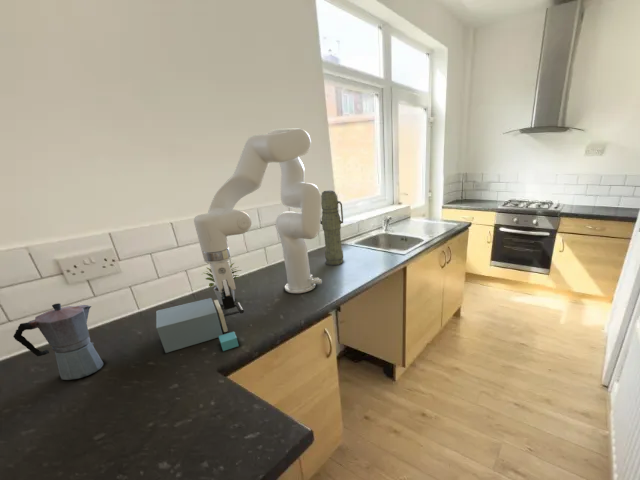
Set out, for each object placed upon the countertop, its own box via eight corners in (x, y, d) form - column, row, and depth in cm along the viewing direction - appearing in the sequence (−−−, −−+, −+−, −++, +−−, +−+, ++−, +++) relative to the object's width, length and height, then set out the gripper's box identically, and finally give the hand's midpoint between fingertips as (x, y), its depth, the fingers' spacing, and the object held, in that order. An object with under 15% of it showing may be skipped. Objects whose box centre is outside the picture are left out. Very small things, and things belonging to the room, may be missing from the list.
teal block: (236, 339, 99) (233, 331, 98) (238, 346, 96) (236, 337, 94) (220, 344, 97) (218, 335, 95) (223, 351, 93) (220, 342, 92)
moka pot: (123, 358, 91) (95, 295, 83) (59, 394, 78) (18, 325, 70) (101, 352, 94) (72, 291, 86) (35, 386, 81) (-6, 318, 73)
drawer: (240, 311, 114) (236, 294, 111) (248, 325, 105) (243, 307, 102) (173, 329, 103) (167, 311, 101) (175, 346, 95) (168, 326, 92)
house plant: (230, 314, 114) (219, 271, 107) (197, 310, 117) (185, 269, 110) (253, 296, 127) (245, 258, 120) (223, 294, 130) (213, 256, 123)
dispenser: (217, 319, 111) (211, 297, 107) (223, 336, 101) (216, 312, 97) (164, 334, 103) (156, 310, 99) (165, 353, 93) (156, 328, 90)
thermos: (323, 260, 165) (315, 190, 151) (346, 258, 166) (340, 189, 152) (322, 266, 157) (314, 193, 143) (346, 264, 158) (341, 192, 144)
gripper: (234, 258, 94) (246, 313, 101) (225, 247, 105) (237, 296, 113) (206, 263, 90) (220, 320, 98) (200, 251, 102) (214, 302, 109)
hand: (229, 307), depth 105 cm, fingers closed
